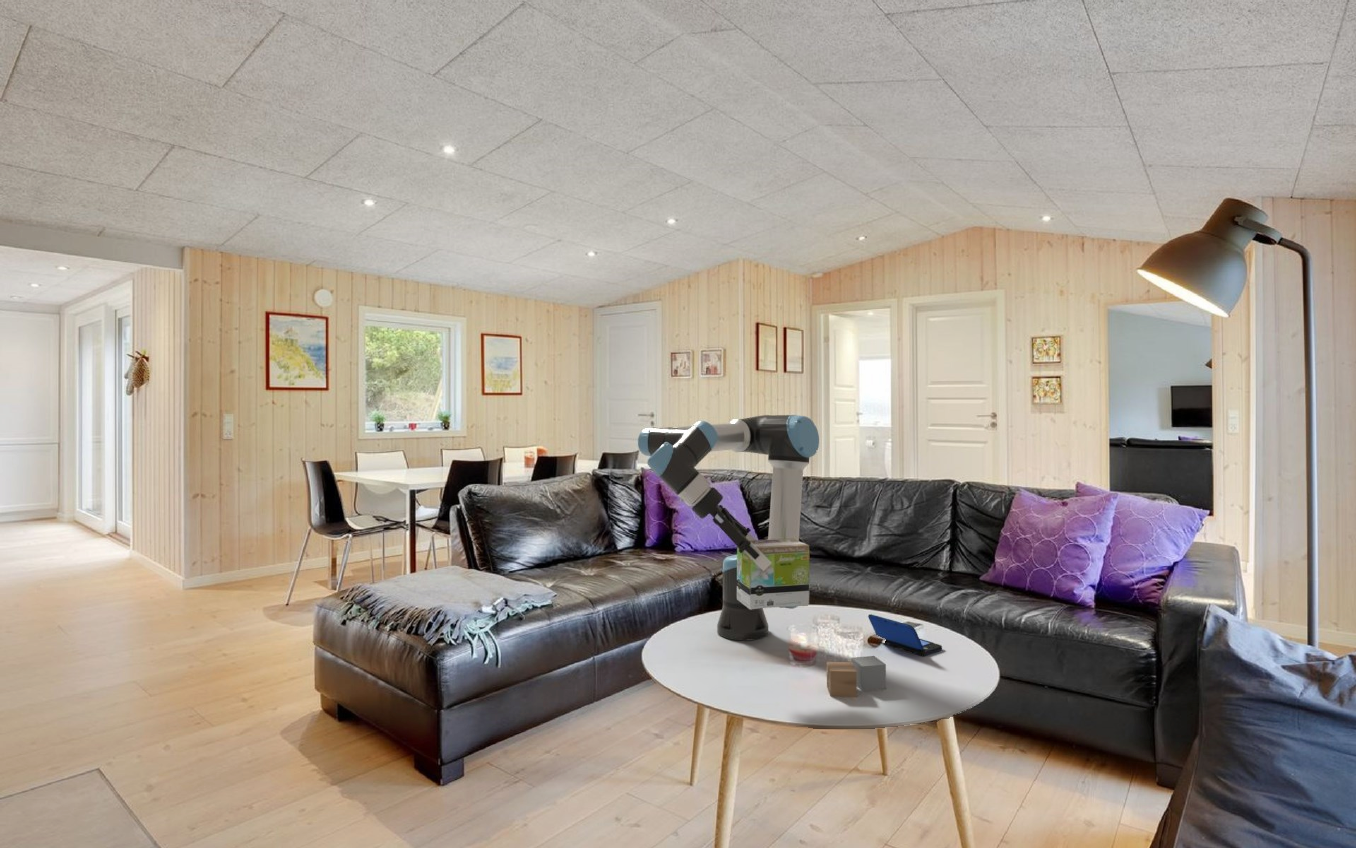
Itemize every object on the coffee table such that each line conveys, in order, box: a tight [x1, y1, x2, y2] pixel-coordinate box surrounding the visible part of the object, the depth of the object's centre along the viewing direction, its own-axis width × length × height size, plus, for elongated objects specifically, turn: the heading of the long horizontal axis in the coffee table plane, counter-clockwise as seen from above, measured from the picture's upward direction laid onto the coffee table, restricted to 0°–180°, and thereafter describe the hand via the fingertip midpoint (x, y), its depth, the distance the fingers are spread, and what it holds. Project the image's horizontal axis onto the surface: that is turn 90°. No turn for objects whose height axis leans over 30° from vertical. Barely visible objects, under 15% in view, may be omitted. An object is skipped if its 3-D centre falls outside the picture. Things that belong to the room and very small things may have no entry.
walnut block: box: [826, 661, 858, 698], centre depth 170 cm, size 6×6×6 cm
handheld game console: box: [867, 613, 943, 657], centre depth 200 cm, size 16×13×9 cm
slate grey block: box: [850, 655, 887, 692], centre depth 174 cm, size 6×6×6 cm
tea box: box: [736, 539, 810, 610], centre depth 173 cm, size 15×10×15 cm
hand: (766, 561), depth 172 cm, fingers closed on tea box, 12 cm apart
